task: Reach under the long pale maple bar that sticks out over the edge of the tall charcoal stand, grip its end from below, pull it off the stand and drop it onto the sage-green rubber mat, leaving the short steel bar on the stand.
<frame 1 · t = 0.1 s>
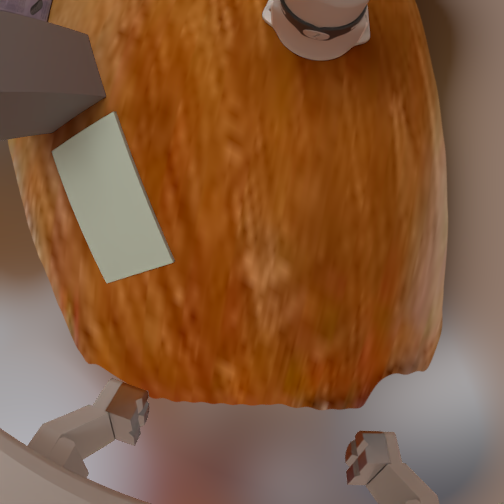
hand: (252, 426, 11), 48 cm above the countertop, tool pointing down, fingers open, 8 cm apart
sage mat: (108, 202, 59), on the countertop
charcoal stand: (67, 83, 51), on the countertop
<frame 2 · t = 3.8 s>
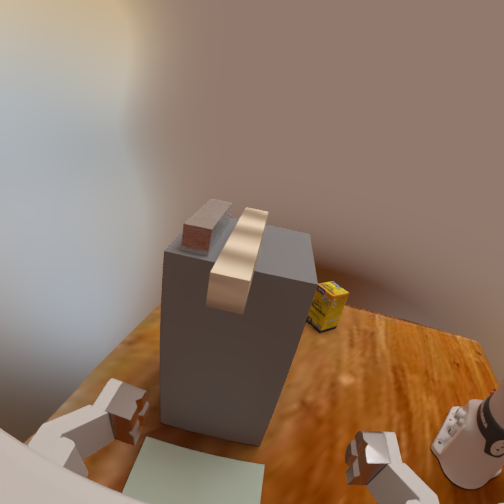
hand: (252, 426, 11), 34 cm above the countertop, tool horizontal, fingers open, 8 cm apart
supplement box: (320, 325, 79), on the countertop
long maple bar: (242, 259, 34), point 30 cm above the countertop, touching charcoal stand
charcoal stand: (219, 401, 51), on the countertop
short steel bar: (208, 235, 39), point 30 cm above the countertop, touching charcoal stand
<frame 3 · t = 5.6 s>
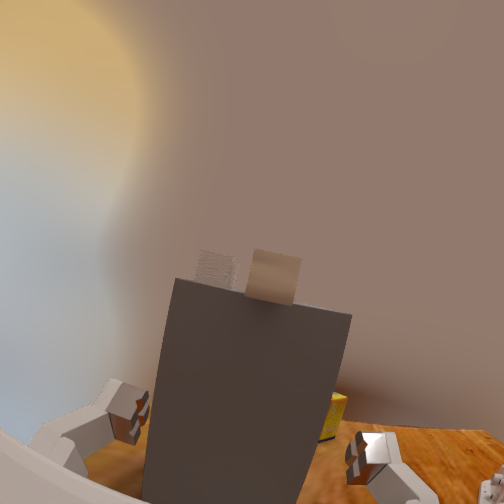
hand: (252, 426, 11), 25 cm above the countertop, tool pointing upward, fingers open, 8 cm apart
supplement box: (317, 436, 62), on the countertop
long maple bar: (264, 297, 29), point 30 cm above the countertop, touching charcoal stand
short steel bar: (217, 286, 34), point 30 cm above the countertop, touching charcoal stand
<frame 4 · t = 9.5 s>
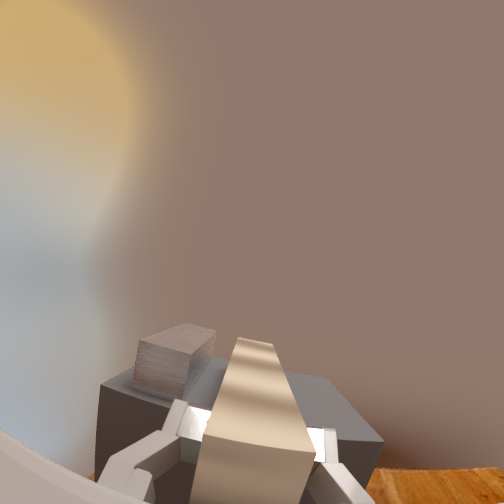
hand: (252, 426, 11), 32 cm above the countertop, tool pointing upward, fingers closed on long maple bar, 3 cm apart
long maple bar: (245, 413, 17), point 30 cm above the countertop, touching charcoal stand, gripper
short steel bar: (179, 373, 22), point 30 cm above the countertop, touching charcoal stand
when the fingers open (21 cm above the countertop, at t = 18.4 s): long maple bar drops 17 cm and tips over, resting on sage mat.
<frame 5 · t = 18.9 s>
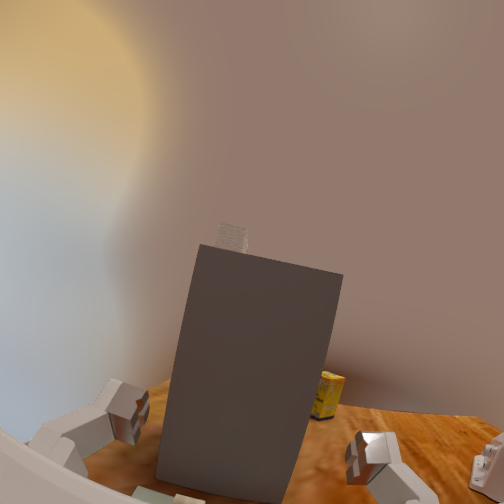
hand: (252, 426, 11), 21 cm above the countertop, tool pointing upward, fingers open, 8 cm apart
supplement box: (317, 416, 69), on the countertop
charcoal stand: (223, 466, 38), on the countertop
short steel bar: (231, 257, 41), point 30 cm above the countertop, touching charcoal stand
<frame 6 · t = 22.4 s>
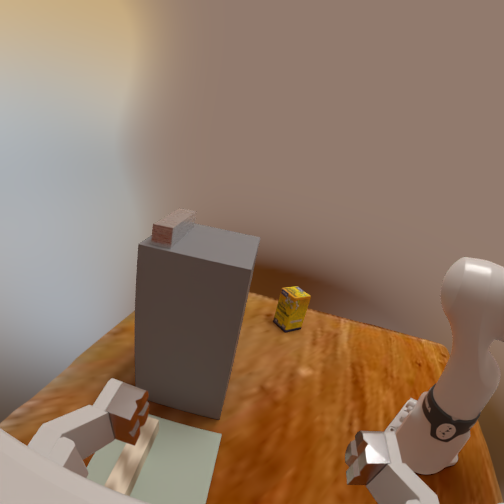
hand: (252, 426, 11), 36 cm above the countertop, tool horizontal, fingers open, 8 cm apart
supplement box: (286, 326, 88), on the countertop
sage mat: (141, 496, 33), on the countertop
long maple bar: (138, 470, 35), point 2 cm above the countertop, tilted 90°, touching sage mat
charcoal stand: (187, 382, 59), on the countertop
short steel bar: (174, 235, 49), point 30 cm above the countertop, touching charcoal stand
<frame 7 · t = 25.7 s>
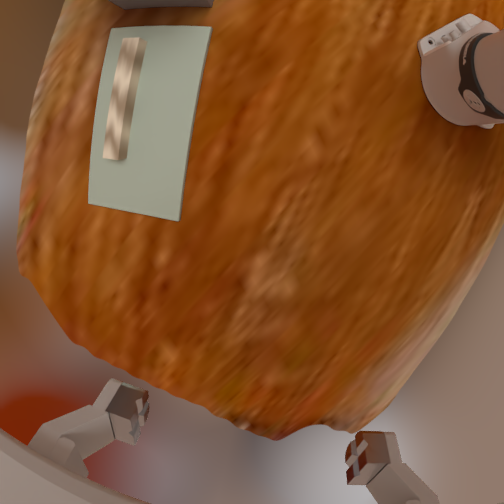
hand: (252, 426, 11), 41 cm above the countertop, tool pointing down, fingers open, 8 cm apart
sage mat: (142, 117, 46), on the countertop
long maple bar: (131, 98, 43), point 2 cm above the countertop, tilted 90°, touching sage mat
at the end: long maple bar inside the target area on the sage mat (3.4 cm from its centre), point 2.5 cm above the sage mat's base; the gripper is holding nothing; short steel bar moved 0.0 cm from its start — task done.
